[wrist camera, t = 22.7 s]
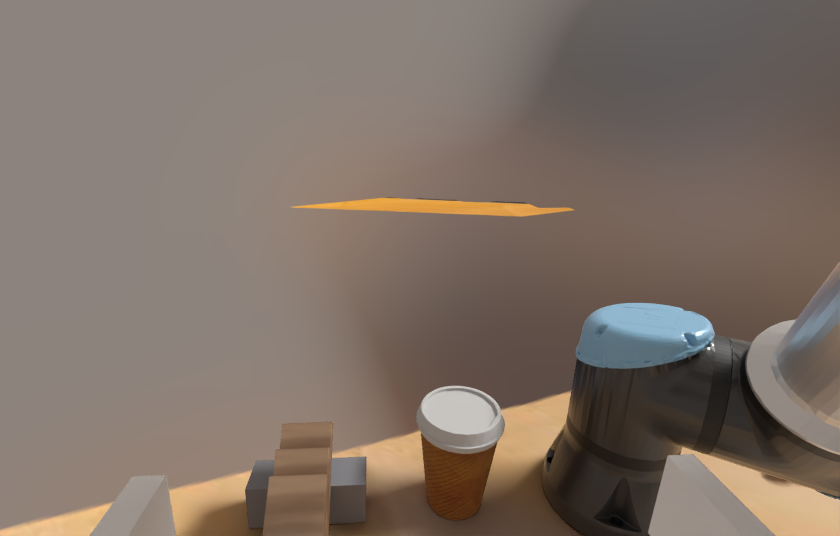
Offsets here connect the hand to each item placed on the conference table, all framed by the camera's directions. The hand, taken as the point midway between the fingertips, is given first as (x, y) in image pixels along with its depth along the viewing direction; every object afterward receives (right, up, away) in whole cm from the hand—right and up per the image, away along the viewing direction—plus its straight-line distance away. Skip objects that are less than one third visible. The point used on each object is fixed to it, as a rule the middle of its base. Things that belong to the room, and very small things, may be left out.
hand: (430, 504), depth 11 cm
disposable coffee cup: (+4, -20, +37) cm, 43 cm away
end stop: (-12, -20, +35) cm, 42 cm away
